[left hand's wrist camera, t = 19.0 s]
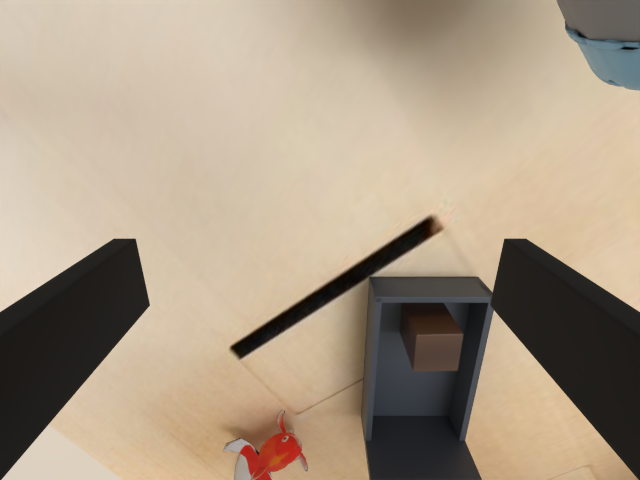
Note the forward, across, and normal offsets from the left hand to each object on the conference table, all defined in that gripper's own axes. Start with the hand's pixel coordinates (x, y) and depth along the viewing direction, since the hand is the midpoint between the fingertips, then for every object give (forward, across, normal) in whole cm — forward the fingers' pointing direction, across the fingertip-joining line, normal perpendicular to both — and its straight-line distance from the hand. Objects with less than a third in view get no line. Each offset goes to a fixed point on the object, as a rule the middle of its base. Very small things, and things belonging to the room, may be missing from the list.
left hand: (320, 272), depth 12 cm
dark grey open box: (+27, +13, -26) cm, 39 cm away
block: (+26, +13, -20) cm, 35 cm away
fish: (+27, -8, -42) cm, 50 cm away
